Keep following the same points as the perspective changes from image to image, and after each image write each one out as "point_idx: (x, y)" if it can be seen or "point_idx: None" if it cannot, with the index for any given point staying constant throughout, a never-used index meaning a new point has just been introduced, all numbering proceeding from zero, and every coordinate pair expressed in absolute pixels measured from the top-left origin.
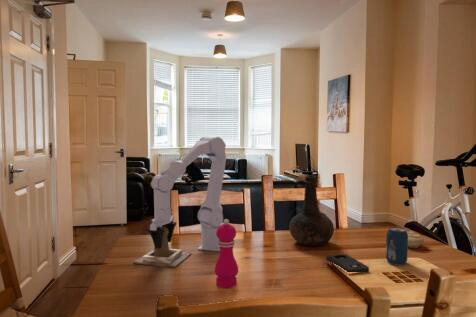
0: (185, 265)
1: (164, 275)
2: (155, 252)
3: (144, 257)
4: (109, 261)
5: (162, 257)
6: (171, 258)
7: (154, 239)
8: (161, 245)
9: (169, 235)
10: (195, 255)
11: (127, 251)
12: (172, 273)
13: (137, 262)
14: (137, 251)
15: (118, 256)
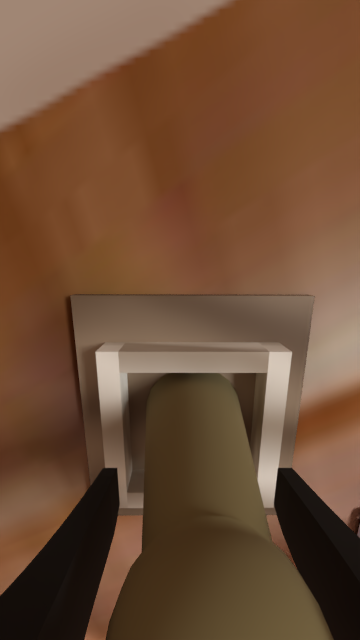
0: (139, 531)
1: (3, 502)
2: (149, 417)
3: (98, 359)
4: (46, 110)
5: (118, 466)
6: (131, 503)
7: (57, 562)
8: (110, 535)
9: (310, 577)
10: (276, 524)
11: (272, 111)
12: (36, 520)
13: (74, 322)
14: (285, 191)
15: (155, 110)
